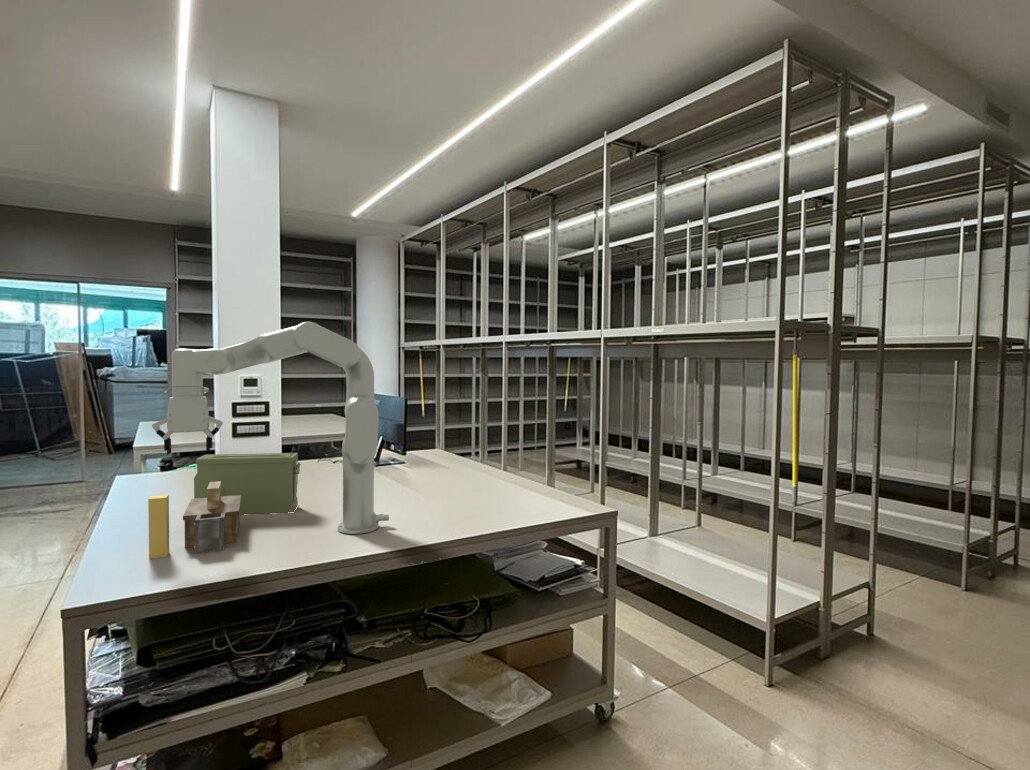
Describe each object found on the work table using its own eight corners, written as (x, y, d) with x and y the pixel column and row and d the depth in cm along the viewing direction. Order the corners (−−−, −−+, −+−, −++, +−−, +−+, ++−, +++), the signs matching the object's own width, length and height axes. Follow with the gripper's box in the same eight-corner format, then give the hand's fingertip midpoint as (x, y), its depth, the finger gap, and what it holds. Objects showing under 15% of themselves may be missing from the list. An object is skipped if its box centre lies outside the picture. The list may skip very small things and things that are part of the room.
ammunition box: (296, 513, 189) (296, 456, 188) (193, 517, 182) (192, 458, 181) (301, 506, 198) (301, 452, 197) (203, 510, 191) (202, 453, 191)
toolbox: (239, 523, 176) (239, 499, 175) (235, 548, 152) (235, 520, 151) (193, 527, 170) (193, 502, 170) (181, 555, 146) (181, 525, 146)
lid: (241, 501, 176) (241, 476, 176) (238, 523, 152) (238, 495, 152) (191, 505, 170) (191, 479, 170) (180, 529, 146) (179, 499, 146)
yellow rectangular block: (169, 551, 149) (168, 494, 148) (166, 556, 145) (166, 497, 145) (152, 553, 147) (151, 495, 147) (149, 558, 143) (148, 498, 143)
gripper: (222, 391, 161) (223, 448, 162) (153, 392, 154) (154, 452, 154) (221, 392, 154) (222, 451, 155) (149, 393, 147) (150, 456, 147)
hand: (188, 451), depth 155 cm, fingers open, 9 cm apart
